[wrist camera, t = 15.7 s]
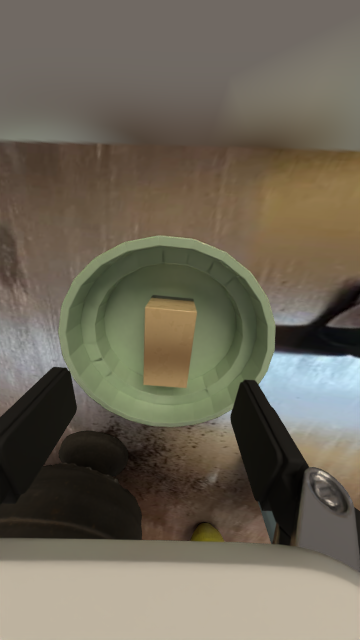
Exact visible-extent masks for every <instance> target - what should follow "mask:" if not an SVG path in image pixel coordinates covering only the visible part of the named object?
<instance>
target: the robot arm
mask: <svg viewBox="0 0 360 640" xmlns="http://www.w3.org/2000/svg"><path fill="white" fill-rule="evenodd" d="M76 410H77V406H76V400H75V395H74V389H73V384H72V379H71V373H70V371H68V370H67V368H61V367H53V368H52V369H50V370H49V371H48V372H47V373H46V374H45V375H44V376H43V377H42V378H41V379H40V380H39V381H38V382H37V383H36V384H35V385H34V386H33V387H32V388H31V389H29V390H28V391H27V392H26V393H25V394H24V395H23V396H22V397H21V398H20V399H19V400H18V401H17V402H16V403H15V404H14V405H13V406H12V407H11V408H10V409H8V410H7V411H6V412H5V413H4V414H3V415H2V416H1V417H0V505H1V504H16V502H17V501H18V499H19V498H20V496H21V494H24V493H26V491H27V490H28V489H29V487H30V486H31V484H32V483H33V481H34V479H35V478H36V476H37V475H38V473H39V471H40V470H41V468H42V466H43V465H44V463H45V462H46V460H47V458H48V457H49V455H50V454H51V452H52V450H53V449H54V447H55V445H56V444H57V442H58V441H59V439H60V437H61V436H62V434H63V433H64V431H65V429H66V428H67V426H68V424H69V423H70V421H71V420H72V418H73V416H74V415H75V413H76ZM231 424H232V427H233V430H234V433H235V437H236V440H237V443H238V446H239V450H240V453H241V456H242V459H243V463H244V466H245V469H246V472H247V476H248V479H249V482H250V485H251V489H252V492H253V495H254V498H255V500H256V501H259V503H260V506H261V510H262V511H272V513H273V516H274V519H275V522H276V527H275V532H274V537H273V542H272V544H260V543H240V542H204V541H163V540H111V539H45V538H0V640H360V511H359V510H357V509H356V508H355V507H354V506H353V502H352V500H351V498H350V496H349V494H348V493H347V491H346V490H345V489H344V487H343V486H342V485H341V484H340V483H339V482H338V481H337V480H336V479H335V478H334V477H333V476H331V475H330V474H329V473H327V472H325V471H324V470H322V469H319V468H315V467H309V466H308V464H307V463H306V461H305V459H304V458H303V456H302V454H301V453H300V451H299V449H298V448H297V446H296V444H295V443H294V441H293V439H292V438H291V436H290V434H289V433H288V431H287V429H286V428H285V426H284V424H283V423H282V421H281V419H280V418H279V416H278V414H277V413H276V411H275V410H274V408H272V407H271V405H270V404H269V402H268V400H267V399H266V397H265V395H264V394H263V392H262V390H261V389H260V387H259V385H258V383H257V382H256V381H255V380H246V379H245V380H243V382H240V385H239V388H238V392H237V395H236V399H235V402H234V406H233V409H232V413H231Z"/></svg>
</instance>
